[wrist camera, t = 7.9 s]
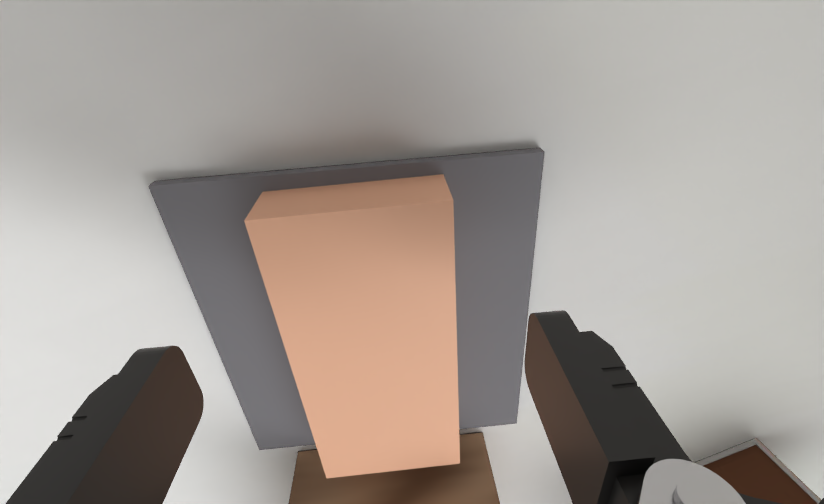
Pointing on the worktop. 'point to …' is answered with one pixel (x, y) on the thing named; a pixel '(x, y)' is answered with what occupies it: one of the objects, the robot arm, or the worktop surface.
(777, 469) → the food container
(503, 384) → the charcoal mat
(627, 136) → the worktop surface
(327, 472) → the cover plate
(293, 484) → the walnut box
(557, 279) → the worktop surface
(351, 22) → the worktop surface
